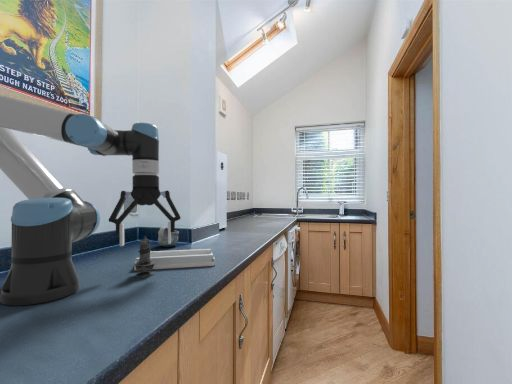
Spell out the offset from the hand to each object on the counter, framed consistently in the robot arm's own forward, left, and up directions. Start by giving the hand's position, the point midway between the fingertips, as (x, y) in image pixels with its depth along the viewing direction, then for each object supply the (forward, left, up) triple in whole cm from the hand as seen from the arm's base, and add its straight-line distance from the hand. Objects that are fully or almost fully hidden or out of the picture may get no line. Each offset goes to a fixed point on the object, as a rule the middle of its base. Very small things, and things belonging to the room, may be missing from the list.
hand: (146, 244), depth 83 cm
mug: (+4, +45, -10) cm, 46 cm away
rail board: (+9, +12, -9) cm, 18 cm away
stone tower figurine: (0, 0, -10) cm, 10 cm away
